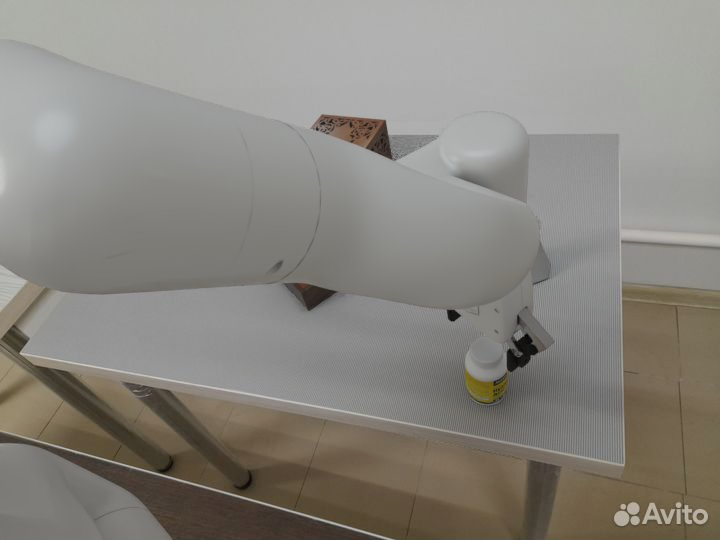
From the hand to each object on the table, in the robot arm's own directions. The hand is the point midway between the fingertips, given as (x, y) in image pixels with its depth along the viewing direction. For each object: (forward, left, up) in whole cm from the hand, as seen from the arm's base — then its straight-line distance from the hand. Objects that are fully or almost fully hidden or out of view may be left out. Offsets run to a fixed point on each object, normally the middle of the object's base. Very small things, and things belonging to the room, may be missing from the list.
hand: (487, 337), depth 63 cm
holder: (-7, +37, -12) cm, 39 cm away
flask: (+20, +11, -12) cm, 25 cm away
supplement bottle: (0, 0, -12) cm, 12 cm away
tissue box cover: (+8, +50, -12) cm, 52 cm away
